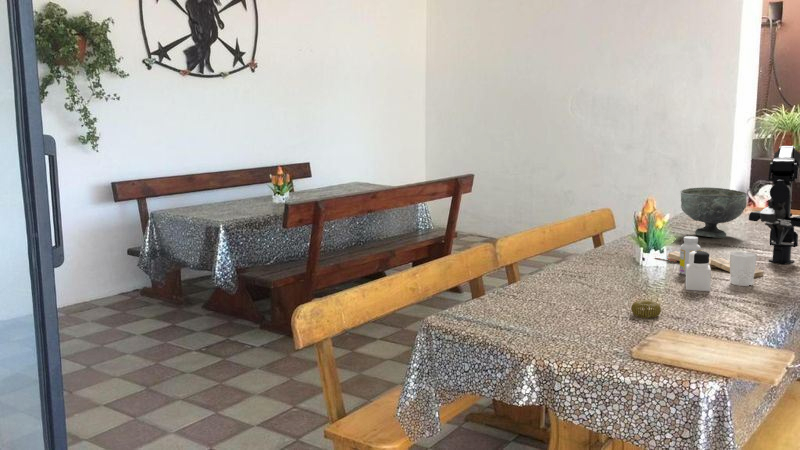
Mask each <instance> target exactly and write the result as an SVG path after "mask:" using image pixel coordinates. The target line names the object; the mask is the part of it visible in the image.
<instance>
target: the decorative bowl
mask: <svg viewBox="0 0 800 450" xmlns="http://www.w3.org/2000/svg"><path fill="white" fill-rule="evenodd" d="M747 197H748V192H744V191H741V190H739V191H738V190H735V189H729V188H720V187H707V186H706V187H689V188H686V189H684V188H683V189H682V190H681V191H680V201H681V203H680V208H681V210H682V212H683V213H684V215H687V216H688V217H689V218H690V219H691V220H693V221H696V222H701V223H704V225H705V226H704V227H699V228H696V230H695V231H694V233H695V235H696V236H700V237H709V238H716V239H717V238H719V239H721V238H726V237H727V233H726V232H725V231H724V230H723V229H720V228H718V224H726V223H730V222H732V221H734V220H736V219H737V218H738V217H740V216H741V215H742V213H744V210H745V209H746V208H747Z"/></svg>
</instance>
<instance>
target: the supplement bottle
mask: <svg viewBox="0 0 800 450" xmlns="http://www.w3.org/2000/svg"><path fill="white" fill-rule="evenodd" d="M683 242H684V243H682V244H681V245H680V249H679V250H680V251H679V252H680V261H679V273H680V274H681V275H685V276H686V264H689V253H690V252H692V251H702V249H701V246H700V245H699V244H698V243H699V237H698V236H691V235H690V236H687V235H686V236H683Z"/></svg>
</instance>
